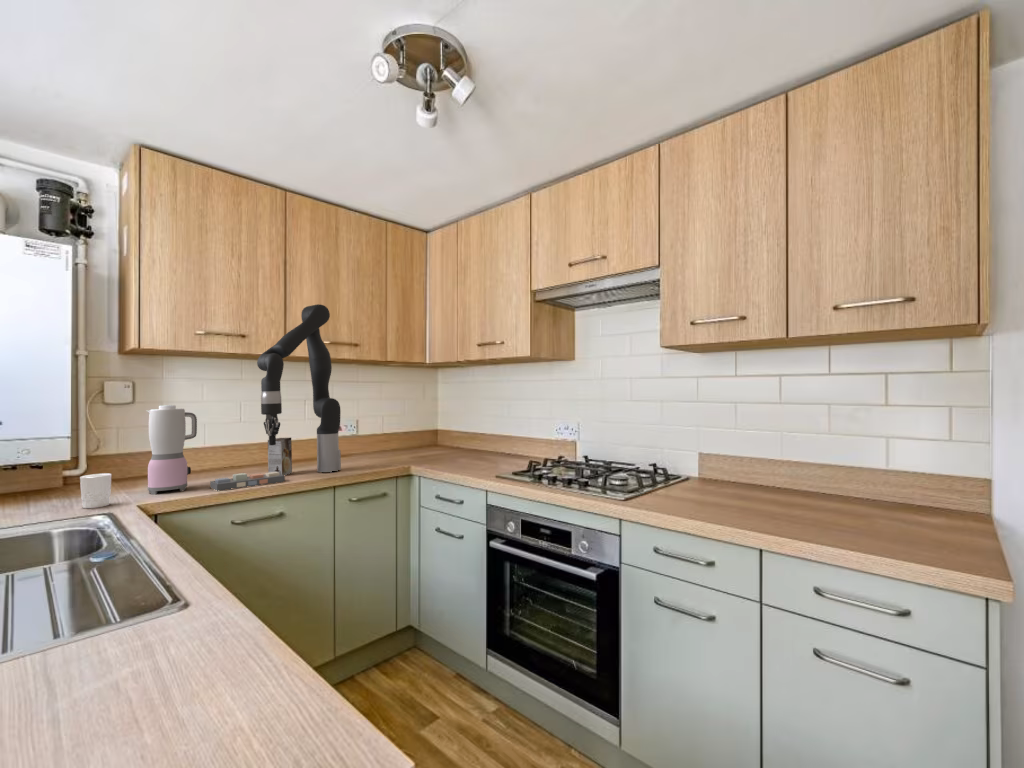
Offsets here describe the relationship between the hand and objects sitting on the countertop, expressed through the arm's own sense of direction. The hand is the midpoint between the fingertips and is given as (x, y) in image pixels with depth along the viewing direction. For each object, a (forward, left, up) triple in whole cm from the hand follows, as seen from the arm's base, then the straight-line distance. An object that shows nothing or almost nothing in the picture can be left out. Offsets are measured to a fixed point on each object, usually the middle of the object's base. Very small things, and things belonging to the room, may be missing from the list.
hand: (272, 445), depth 200 cm
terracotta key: (+6, 0, -14) cm, 16 cm away
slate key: (+18, 0, -14) cm, 23 cm away
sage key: (+12, 0, -13) cm, 18 cm away
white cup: (+55, +2, -15) cm, 57 cm away
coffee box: (-8, -14, -15) cm, 22 cm away
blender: (+32, -10, -15) cm, 37 cm away
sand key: (0, 0, -14) cm, 14 cm away
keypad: (+9, 0, -15) cm, 17 cm away
